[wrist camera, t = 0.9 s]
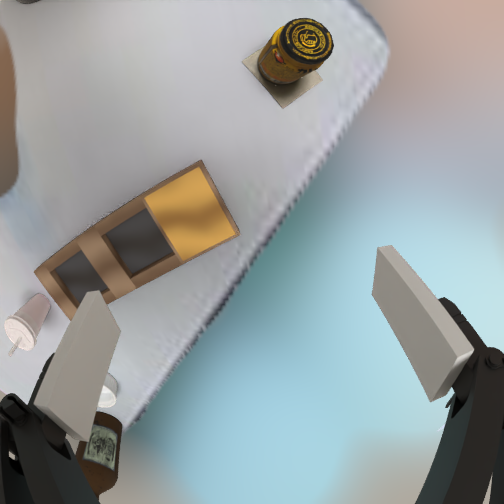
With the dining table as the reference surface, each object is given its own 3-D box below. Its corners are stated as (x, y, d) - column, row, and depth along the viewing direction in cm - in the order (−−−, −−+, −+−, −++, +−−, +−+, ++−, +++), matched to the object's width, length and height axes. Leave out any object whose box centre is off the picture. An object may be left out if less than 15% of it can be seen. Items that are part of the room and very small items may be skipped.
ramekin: (75, 362, 46) (69, 377, 42) (114, 367, 48) (109, 383, 44) (87, 389, 50) (82, 404, 46) (123, 394, 51) (120, 410, 47)
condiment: (283, 34, 30) (312, 0, 19) (322, 80, 33) (365, 64, 22) (241, 61, 31) (255, 32, 20) (282, 108, 34) (313, 100, 23)
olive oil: (119, 436, 58) (109, 515, 35) (82, 420, 54) (65, 500, 32) (129, 421, 55) (119, 510, 32) (89, 404, 52) (68, 493, 29)
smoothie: (54, 322, 42) (24, 375, 29) (27, 306, 40) (-8, 354, 27) (58, 297, 40) (23, 350, 27) (30, 280, 38) (-10, 328, 25)
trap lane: (38, 266, 37) (32, 272, 35) (201, 159, 35) (200, 161, 33) (76, 316, 42) (72, 324, 40) (239, 229, 40) (240, 235, 38)
